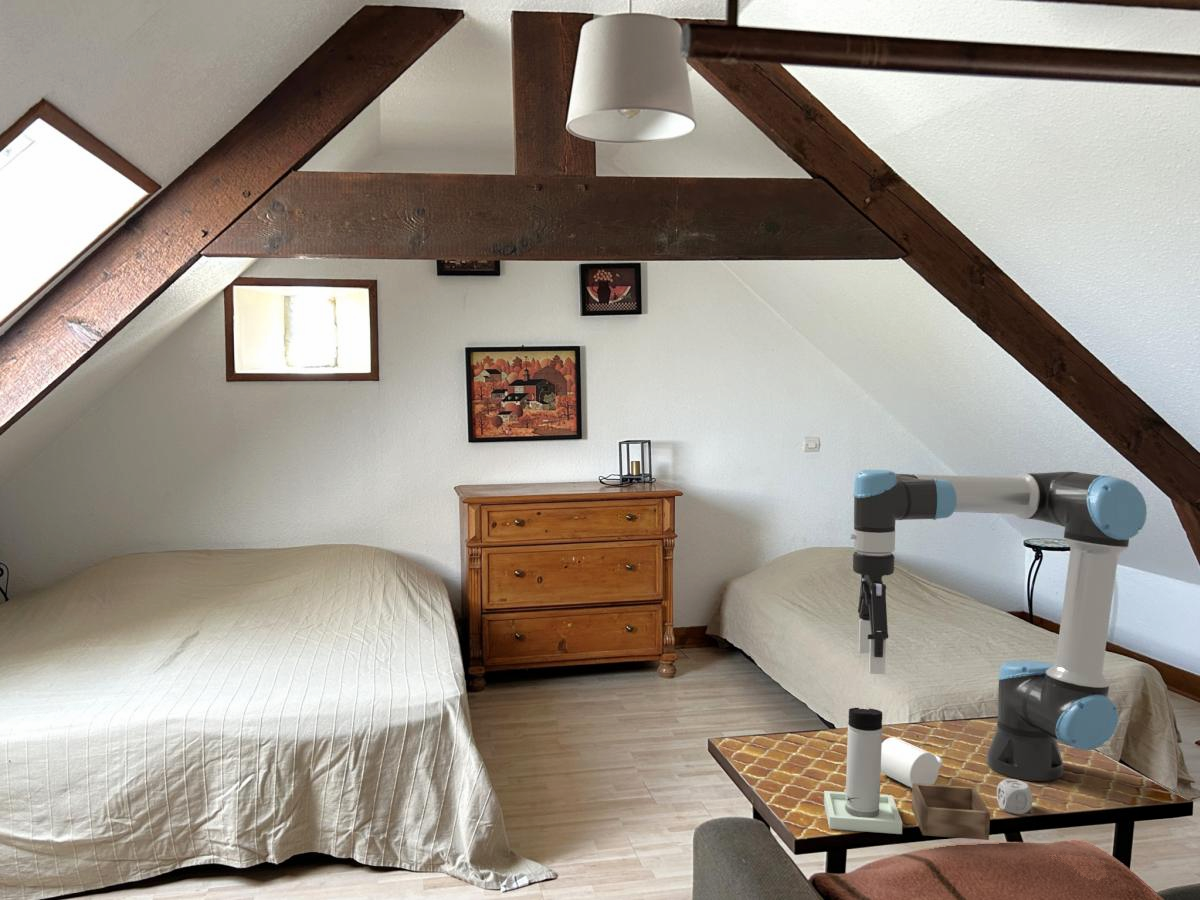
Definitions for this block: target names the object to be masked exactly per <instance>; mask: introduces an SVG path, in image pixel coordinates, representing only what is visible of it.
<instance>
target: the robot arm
mask: <svg viewBox="0 0 1200 900" xmlns="http://www.w3.org/2000/svg"><path fill="white" fill-rule="evenodd" d="M853 498H854V500H853V532H854V534H853V533H852V534H850V539H851V540H853V549H854V553H852V571H853V572H854V573H856V574H858V575H860V576H861V577H860V591H859V599H858V607H857V608H858V609H857V612H858V618H859V626H858V627H859V631H858V633H859V634H858V638H859V639H858V653H859V654H869V663H868V664H869V667H868V668H869V675H886V651H887V650H886V648H887V647H886V641H887V639H889V633H888V631H889V630H888V616H887V615H888V612H887V584H884V582H883V579H882V578H883V577H885V576H887V577H888V576H891V575H893V574H894V572H895V555H894V554H893V552H895V550H896V521H903V520H904V521H905V520H933V521H936V520H937V519H938V520H939V519H947V518H949V517H951V516H952V515H953V514H954V513H972V514H973V513H977V514H1005V515H1006V514H1008V515H1010V514H1011V515H1014V516H1016V517H1017V518H1019V519H1021V520H1035V521H1040V522H1041V521H1042V522H1044V523H1050V524H1053V525H1056V526H1061V527H1064V532H1063V540H1064V541H1065V542H1066V544H1067V545H1068V546H1069V549H1070V551H1069V558H1068V565H1067V573H1066V581H1065V589H1064V595H1063V603H1062V609H1061V610H1062V611H1061V618H1060V626H1059V634H1058V641H1057V648H1056V656H1055V663H1052V662H1048V661H1040V660H1039V661H1038V660H1011V661H1010V660H1009V661H1007V662H1004V663H1003V664H1002V665H1000V669H999V676H998V680H997V681H998V696H997V697H998V701H997V721H996V722H997V724H996V725H997V726H996V730H995V731H994V732H995V733H994V735H993V737H992V739H991V743H990V745H989V747H988V749H987V753H986V764H987V765H988V767H989V768H990V769H992V770H993V771H995V772H996V773H999V774H1002V775H1003V776H1007V777H1011V778H1012V779H1013V778H1014V779H1016V780H1023V781H1029V782H1031V781H1032V782H1048V781H1049V782H1051V781H1054V780H1055V781H1056V780H1058V779H1060V778H1061V777H1063V775H1064V760H1063V757H1062V754H1061V753H1062V752H1061V749H1060V747H1059V743H1058V741H1059V742H1060V743H1061V744H1063V745H1066V746H1069V747H1072V748H1074V749H1077V750H1080V751H1092V750H1095V749H1098V748H1099V747H1101V746H1103V745H1104V744H1105V742H1109V741H1110V739H1111V738H1112V737H1113V735H1114V734H1115V732H1116V730H1117V728H1118V724H1119V711H1118V707H1116V705H1115V703H1114V702H1113V701H1112V700H1111V699H1110V698H1109V697H1108V696H1109V690H1110V689H1109V687H1110V682H1109V681H1108V679H1107V678H1106V677H1105V676H1104V674H1103V671H1104V670H1103V669H1104V664H1105V663H1104V662H1105V655H1106V648H1107V640H1108V632H1109V626H1110V625H1109V624H1110V618H1111V612H1112V603H1113V596H1114V590H1115V589H1114V588H1115V580H1116V575H1117V574H1116V573H1117V567H1118V560H1119V555H1120V554H1121V553H1123V552H1124V551H1125V550H1127V549H1128V548H1129V544H1130V543H1129V542H1130V539H1132V538H1133V537H1135V536H1137V535H1138V534H1139V531H1140V530H1142V529H1143V527H1144V526H1145V523H1146V520H1147V505H1146V504H1147V503H1146V501H1145V497H1144V496H1143V494H1142V492H1140V490H1139V489H1138V487H1137V486H1136V485H1135V484H1134V483H1132V482H1130V481H1129V480H1125V479H1122V478H1119V477H1115V476H1111V475H1100V474H1099V475H1098V474H1092V473H1085V472H1084V473H1083V472H1079V471H1054V472H1039V473H1034V472H1033V473H1032V472H1031V473H1026V472H1022V473H1019V474H1016V476H1015V477H1007V476H1006V477H1005V476H1004V477H1002V476H1001V477H1000V476H998V477H997V476H975V475H974V476H973V475H972V476H971V475H970V476H969V475H951V474H950V475H945V474H944V475H943V474H918V473H914V474H909V473H896V472H894V471H893V470H889V469H888V470H886V469H864V470H863V469H862V470H860V471H858V472H857V473H856V474H855V480H854V490H853Z"/></svg>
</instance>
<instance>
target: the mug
mask: <svg viewBox="0 0 1200 900" xmlns="http://www.w3.org/2000/svg"><path fill="white" fill-rule="evenodd" d="M943 766H944V761H943V759H942V758H941V757H939V755H937V754H934V753H931V752H929V751H927V750H925V749H923V748H922V747H918V746H916V745H914V744H913V743H912V744H911V743H909V742H907V741H905V740H903V739H900V738H898V737H894V736H893V737H891V736H890V737H888V738H886V739H885V740H884V741H883V743H882V748H881V774H883V775H885V776H887V777H889V778H891V779H893V780H895V781H897V782H899V783H900V784H903V785H905V786H907V787H909V788H911V789H912V784H913V783H917V784H932V785H935V783H936V781H937V779H938V777H939V773H940V772H939V771H940V768H942V767H943Z"/></svg>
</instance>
